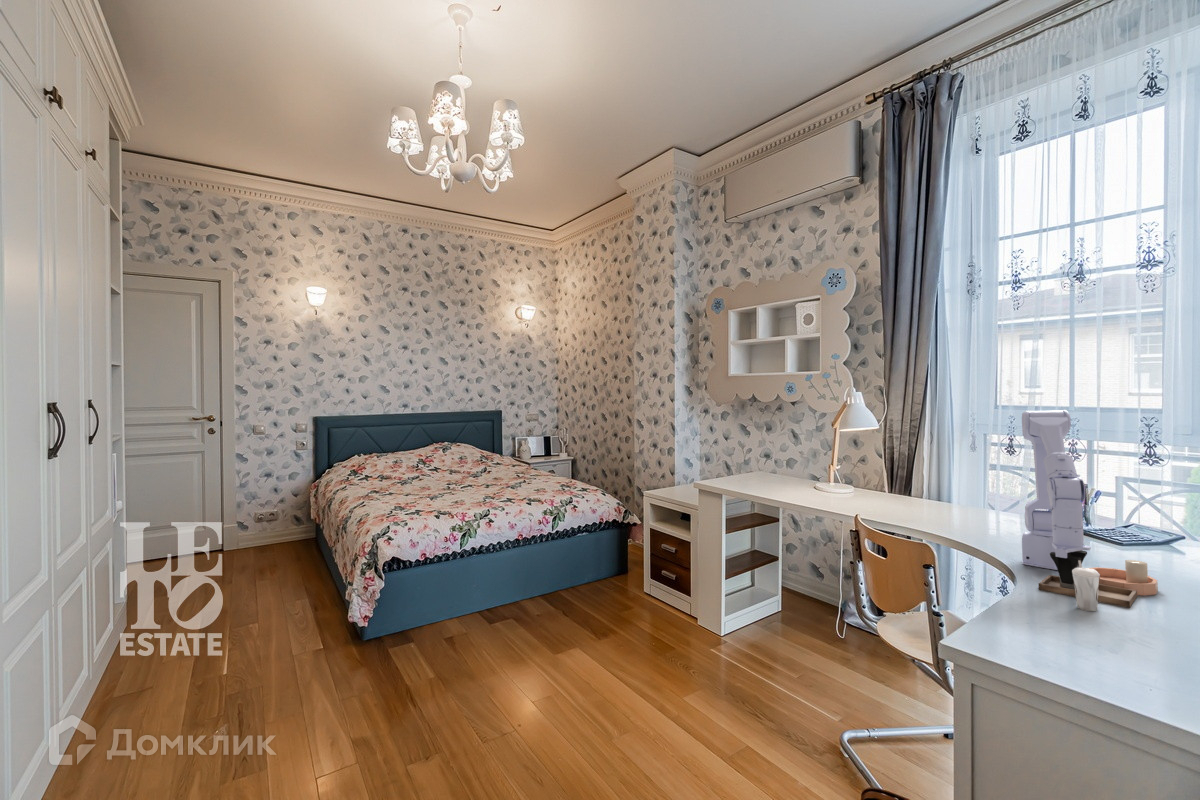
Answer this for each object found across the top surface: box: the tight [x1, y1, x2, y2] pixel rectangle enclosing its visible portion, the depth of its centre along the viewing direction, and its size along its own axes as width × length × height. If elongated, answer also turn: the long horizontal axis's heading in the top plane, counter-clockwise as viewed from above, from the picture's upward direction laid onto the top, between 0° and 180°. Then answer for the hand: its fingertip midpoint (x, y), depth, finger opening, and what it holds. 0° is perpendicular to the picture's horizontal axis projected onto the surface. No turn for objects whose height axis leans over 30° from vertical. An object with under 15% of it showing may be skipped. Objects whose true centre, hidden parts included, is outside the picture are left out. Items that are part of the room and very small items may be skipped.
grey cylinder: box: [1059, 565, 1080, 590], centre depth 128 cm, size 4×4×6 cm
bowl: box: [1088, 566, 1159, 597], centre depth 130 cm, size 13×13×3 cm
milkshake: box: [1072, 560, 1100, 613], centre depth 117 cm, size 4×5×10 cm
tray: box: [1038, 574, 1138, 609], centre depth 126 cm, size 16×10×2 cm, turn 37°
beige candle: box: [1124, 559, 1149, 584], centre depth 128 cm, size 4×4×6 cm
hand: (1069, 581), depth 128 cm, fingers closed on grey cylinder, 4 cm apart
